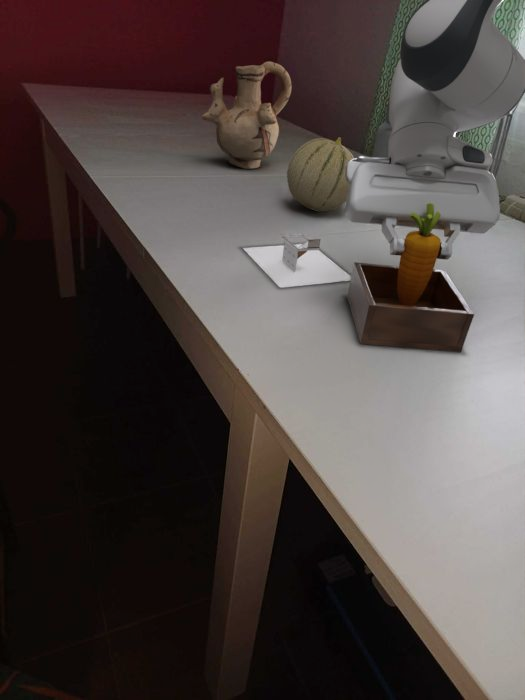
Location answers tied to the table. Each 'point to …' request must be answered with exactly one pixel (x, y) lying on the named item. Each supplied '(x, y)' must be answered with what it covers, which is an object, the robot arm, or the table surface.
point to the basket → (407, 311)
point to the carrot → (418, 258)
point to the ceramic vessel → (248, 115)
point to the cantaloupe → (319, 174)
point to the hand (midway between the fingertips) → (420, 255)
